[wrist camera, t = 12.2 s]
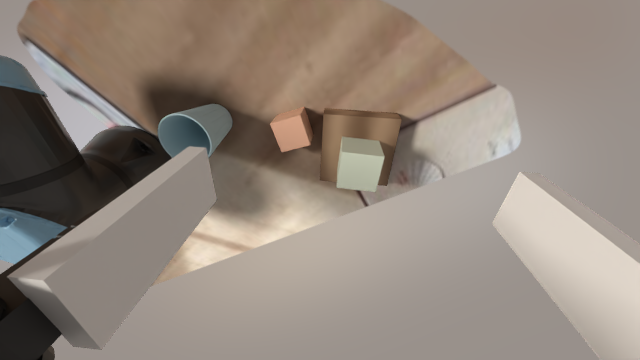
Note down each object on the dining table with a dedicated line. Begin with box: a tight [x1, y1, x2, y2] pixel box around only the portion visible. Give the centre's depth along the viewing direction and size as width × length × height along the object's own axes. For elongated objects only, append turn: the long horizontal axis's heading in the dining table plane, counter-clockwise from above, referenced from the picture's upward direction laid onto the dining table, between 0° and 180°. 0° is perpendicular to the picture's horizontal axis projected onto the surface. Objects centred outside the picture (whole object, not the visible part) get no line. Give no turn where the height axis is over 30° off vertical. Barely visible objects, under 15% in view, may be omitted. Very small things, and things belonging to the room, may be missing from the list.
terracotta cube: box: [270, 107, 313, 152], centre depth 40 cm, size 5×5×5 cm
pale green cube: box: [337, 137, 385, 192], centre depth 38 cm, size 6×6×6 cm
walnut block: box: [320, 108, 402, 186], centre depth 42 cm, size 12×12×4 cm
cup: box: [158, 104, 233, 159], centre depth 38 cm, size 8×8×10 cm
